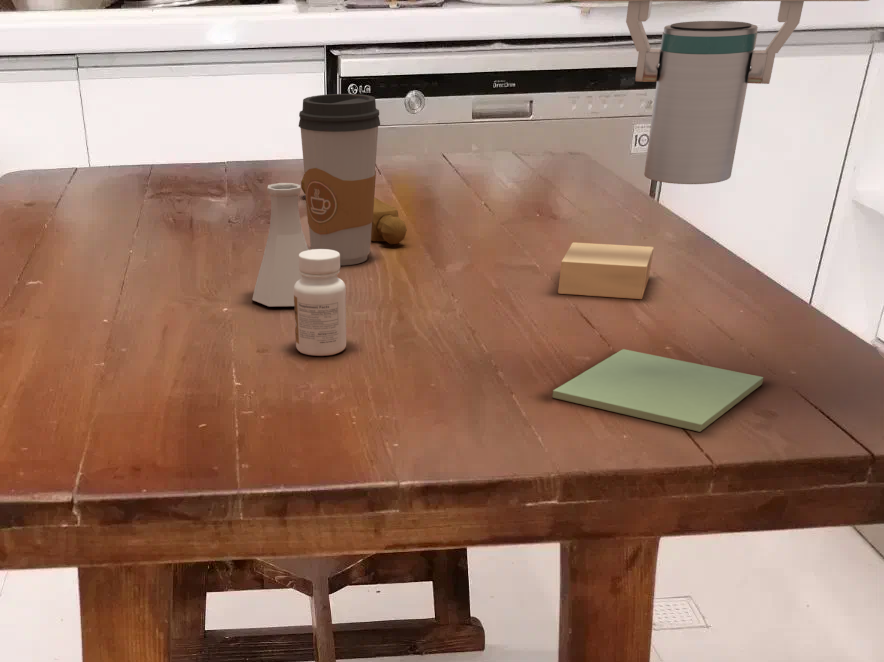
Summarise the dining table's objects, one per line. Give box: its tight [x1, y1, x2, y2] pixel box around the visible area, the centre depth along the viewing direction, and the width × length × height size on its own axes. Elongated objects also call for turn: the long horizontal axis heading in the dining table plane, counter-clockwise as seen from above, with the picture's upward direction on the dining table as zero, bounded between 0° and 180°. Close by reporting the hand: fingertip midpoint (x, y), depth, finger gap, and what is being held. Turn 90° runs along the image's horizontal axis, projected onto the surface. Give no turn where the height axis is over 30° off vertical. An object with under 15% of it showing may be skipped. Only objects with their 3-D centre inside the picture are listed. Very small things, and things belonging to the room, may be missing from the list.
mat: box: [551, 348, 764, 433], centre depth 85 cm, size 12×12×1 cm
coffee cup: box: [298, 93, 381, 266], centre depth 114 cm, size 8×8×15 cm
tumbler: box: [643, 20, 759, 185], centre depth 76 cm, size 9×6×6 cm
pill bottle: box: [293, 249, 347, 357], centre depth 93 cm, size 4×4×8 cm
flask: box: [252, 182, 310, 307], centre depth 104 cm, size 7×7×10 cm
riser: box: [557, 241, 655, 300], centre depth 108 cm, size 8×8×3 cm
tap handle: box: [300, 175, 407, 245], centre depth 132 cm, size 3×3×30 cm
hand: (702, 81), depth 75 cm, fingers closed on tumbler, 6 cm apart
